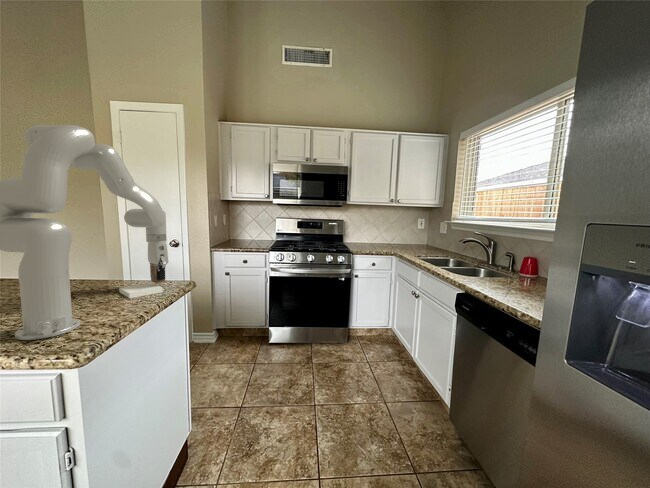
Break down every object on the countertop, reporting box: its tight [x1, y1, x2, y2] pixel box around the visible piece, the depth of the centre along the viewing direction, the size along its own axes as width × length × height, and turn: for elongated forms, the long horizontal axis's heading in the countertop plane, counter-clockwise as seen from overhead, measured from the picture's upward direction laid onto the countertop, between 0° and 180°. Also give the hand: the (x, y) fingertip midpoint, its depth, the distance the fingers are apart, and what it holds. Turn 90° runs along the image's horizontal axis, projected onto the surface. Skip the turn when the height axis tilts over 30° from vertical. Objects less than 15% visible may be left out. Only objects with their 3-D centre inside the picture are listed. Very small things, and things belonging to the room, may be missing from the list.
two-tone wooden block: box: [149, 263, 166, 284], centre depth 116 cm, size 6×4×8 cm, turn 53°
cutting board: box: [118, 282, 164, 299], centre depth 111 cm, size 12×12×2 cm
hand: (157, 278), depth 116 cm, fingers closed on two-tone wooden block, 6 cm apart
